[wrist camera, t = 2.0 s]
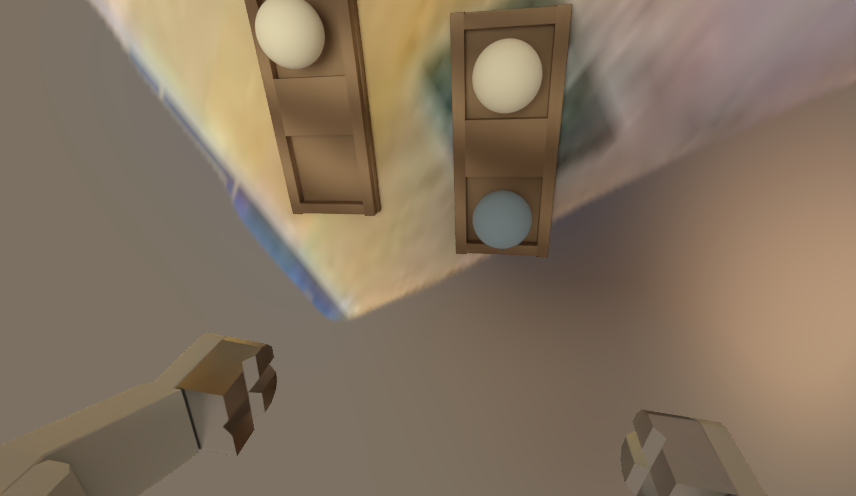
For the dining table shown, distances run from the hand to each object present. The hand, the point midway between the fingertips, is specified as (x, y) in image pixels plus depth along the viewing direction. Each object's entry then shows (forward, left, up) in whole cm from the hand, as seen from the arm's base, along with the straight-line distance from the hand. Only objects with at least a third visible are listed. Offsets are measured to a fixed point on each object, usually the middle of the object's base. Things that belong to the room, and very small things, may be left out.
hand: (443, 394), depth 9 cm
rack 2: (-1, -1, -22) cm, 22 cm away
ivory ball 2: (-1, -5, -21) cm, 22 cm away
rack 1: (+12, -4, -22) cm, 25 cm away
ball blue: (-1, +4, -21) cm, 22 cm away
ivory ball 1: (+12, -8, -21) cm, 26 cm away
